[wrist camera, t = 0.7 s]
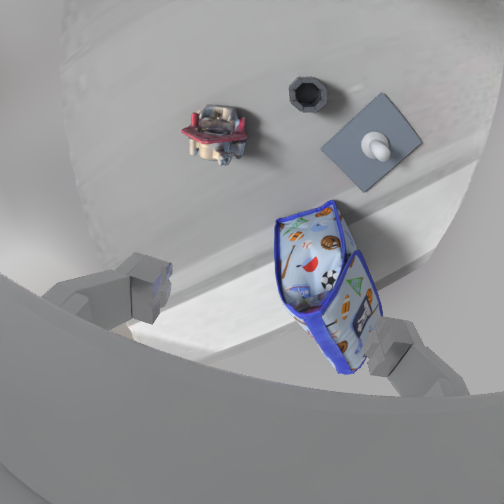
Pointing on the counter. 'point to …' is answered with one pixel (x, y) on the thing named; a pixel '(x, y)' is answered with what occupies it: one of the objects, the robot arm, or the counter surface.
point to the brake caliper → (217, 134)
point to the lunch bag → (326, 283)
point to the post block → (372, 143)
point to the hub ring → (317, 103)
